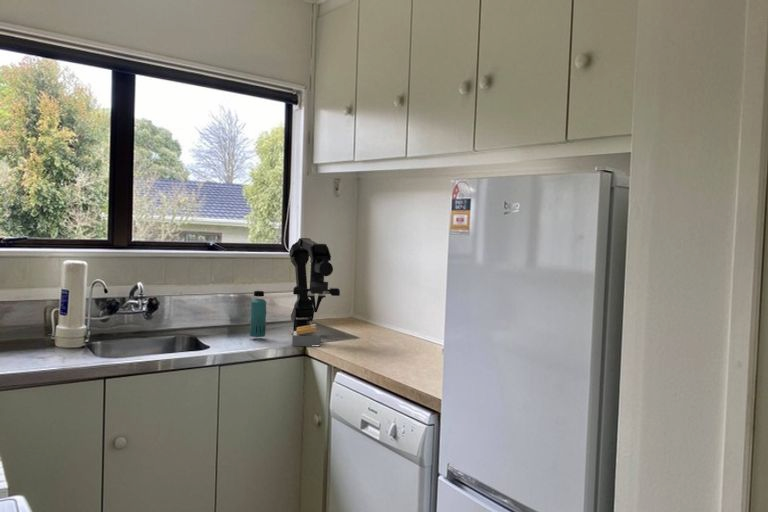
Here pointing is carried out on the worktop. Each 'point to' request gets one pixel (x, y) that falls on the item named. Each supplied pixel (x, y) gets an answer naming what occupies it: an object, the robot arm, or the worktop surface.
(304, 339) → the grey square bin
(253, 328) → the beverage bottle
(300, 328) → the rocker far
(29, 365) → the worktop surface
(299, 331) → the rocker near
